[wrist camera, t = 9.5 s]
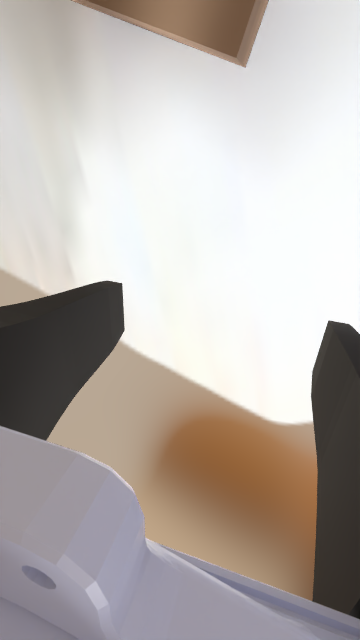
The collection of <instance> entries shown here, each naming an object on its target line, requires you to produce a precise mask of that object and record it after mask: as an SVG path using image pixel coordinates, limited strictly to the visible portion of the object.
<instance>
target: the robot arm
mask: <svg viewBox="0 0 360 640" xmlns="http://www.w3.org/2000/svg"><path fill="white" fill-rule="evenodd" d="M123 332H124V310H123V291H122V283H117V282H112V281H102V282H97V283H93V284H89V285H86V286H82V287H79V288H75V289H72V290H69V291H65V292H62V293H58V294H55V295H51V296H47V297H44V298H39V299H36V300H32V301H28V302H24V303H18V304H14V305H8V306H2V307H0V640H360V334H359V333H358V332H357V331H356V330H355V329H354V328H353V327H352V326H351V325H350V324H345V323H339V322H334V321H328V324H327V327H326V330H325V333H324V336H323V340H322V343H321V346H320V349H319V352H318V356H317V359H316V362H315V365H314V368H313V372H312V391H311V400H312V411H313V421H314V431H315V442H316V450H317V451H316V452H317V467H318V484H317V525H316V549H315V569H314V586H313V601H310V600H307V599H304V598H302V597H299V596H296V595H294V594H291V593H288V592H286V591H283V590H280V589H278V588H275V587H272V586H270V585H267V584H265V583H262V582H259V581H257V580H254V579H251V578H248V577H246V576H243V575H241V574H238V573H235V572H233V571H230V570H228V569H225V568H222V567H220V566H217V565H214V564H211V563H209V562H206V561H204V560H201V559H198V558H196V557H193V556H190V555H188V554H185V553H182V552H180V551H177V550H175V549H172V548H169V547H167V546H164V545H161V544H158V543H156V542H153V541H151V540H149V539H147V538H145V521H144V515H143V512H142V510H141V507H140V505H139V502H138V500H137V497H136V495H135V492H134V490H133V488H132V487H131V486H130V485H129V484H128V483H127V482H126V481H125V480H124V479H123V478H122V477H120V475H119V474H117V473H116V472H115V471H114V470H113V469H112V468H111V467H109V466H107V465H106V464H104V463H102V462H100V461H98V460H96V459H94V458H92V457H90V456H88V455H86V454H84V453H82V452H79V451H75V450H72V449H69V448H66V447H63V446H60V445H57V444H54V443H51V442H48V441H46V440H47V438H48V437H49V435H50V433H51V432H52V430H53V428H54V427H55V425H56V423H57V422H58V420H59V419H60V417H61V416H62V414H63V413H64V411H65V410H66V408H67V407H68V405H69V404H70V402H71V401H72V399H73V398H74V397H75V395H76V394H77V393H78V392H79V390H80V389H81V388H82V387H83V386H84V384H85V383H86V382H87V381H88V379H89V378H90V377H91V376H92V375H93V373H94V372H95V371H96V370H97V369H98V368H99V366H100V365H101V364H102V363H103V362H104V360H105V359H106V358H107V357H108V356H109V354H110V353H111V352H112V350H113V349H114V347H115V346H116V344H117V343H118V341H119V339H120V337H121V336H122V334H123Z"/></svg>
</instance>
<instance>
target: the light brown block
mask: <svg viewBox="0 0 360 640" xmlns="http://www.w3.org/2000/svg"><path fill="white" fill-rule="evenodd" d="M71 1H74V2H77V3H79V4H82V5H84V6H87V7H90V8H92V9H95V10H97V11H100V12H103V13H105V14H108V15H110V16H113V17H116V18H118V19H121V20H123V21H126V22H129V23H131V24H134V25H136V26H139V27H141V28H144V29H147V30H149V31H152V32H154V33H157V34H160V35H162V36H165V37H167V38H170V39H173V40H175V41H178V42H180V43H183V44H186V45H188V46H191V47H193V48H196V49H199V50H201V51H204V52H206V53H209V54H212V55H214V56H217V57H219V58H222V59H225V60H227V61H230V62H232V63H235V64H238V65H240V66H243V67H246V64H247V61H248V58H249V55H250V53H251V50H252V47H253V44H254V41H255V38H256V35H257V32H258V30H259V27H260V24H261V21H262V18H263V15H264V12H265V9H266V7H267V4H268V1H269V0H71Z"/></svg>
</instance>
